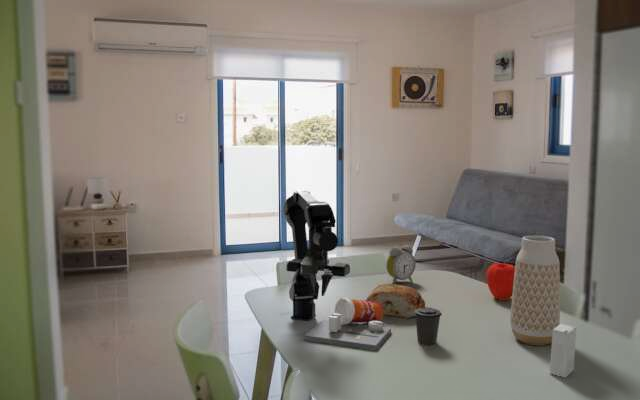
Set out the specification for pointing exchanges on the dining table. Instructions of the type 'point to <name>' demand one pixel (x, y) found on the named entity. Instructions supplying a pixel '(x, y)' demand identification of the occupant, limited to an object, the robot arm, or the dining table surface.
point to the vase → (536, 291)
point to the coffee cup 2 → (427, 325)
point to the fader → (334, 322)
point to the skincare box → (563, 350)
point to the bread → (397, 300)
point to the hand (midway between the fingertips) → (318, 295)
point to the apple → (501, 280)
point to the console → (350, 334)
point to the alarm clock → (401, 263)
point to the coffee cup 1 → (358, 311)
